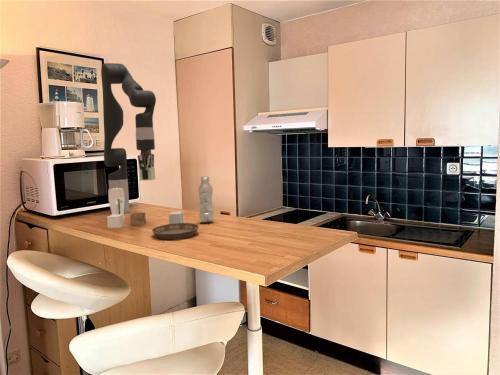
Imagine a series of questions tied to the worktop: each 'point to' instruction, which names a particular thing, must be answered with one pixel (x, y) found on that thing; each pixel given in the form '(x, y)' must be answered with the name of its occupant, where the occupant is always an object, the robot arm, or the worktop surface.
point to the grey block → (176, 217)
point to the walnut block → (138, 219)
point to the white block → (115, 221)
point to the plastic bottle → (205, 201)
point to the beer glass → (116, 201)
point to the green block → (150, 174)
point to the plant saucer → (175, 230)
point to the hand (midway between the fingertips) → (147, 178)
